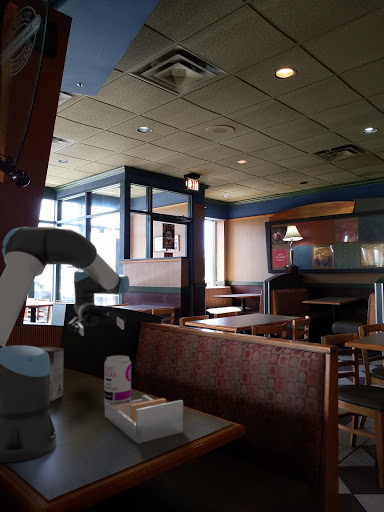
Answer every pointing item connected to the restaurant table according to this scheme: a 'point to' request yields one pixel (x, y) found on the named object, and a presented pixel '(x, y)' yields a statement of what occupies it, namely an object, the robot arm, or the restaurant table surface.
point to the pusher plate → (144, 404)
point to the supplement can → (117, 379)
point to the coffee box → (55, 371)
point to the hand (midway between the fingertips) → (103, 328)
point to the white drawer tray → (147, 419)
